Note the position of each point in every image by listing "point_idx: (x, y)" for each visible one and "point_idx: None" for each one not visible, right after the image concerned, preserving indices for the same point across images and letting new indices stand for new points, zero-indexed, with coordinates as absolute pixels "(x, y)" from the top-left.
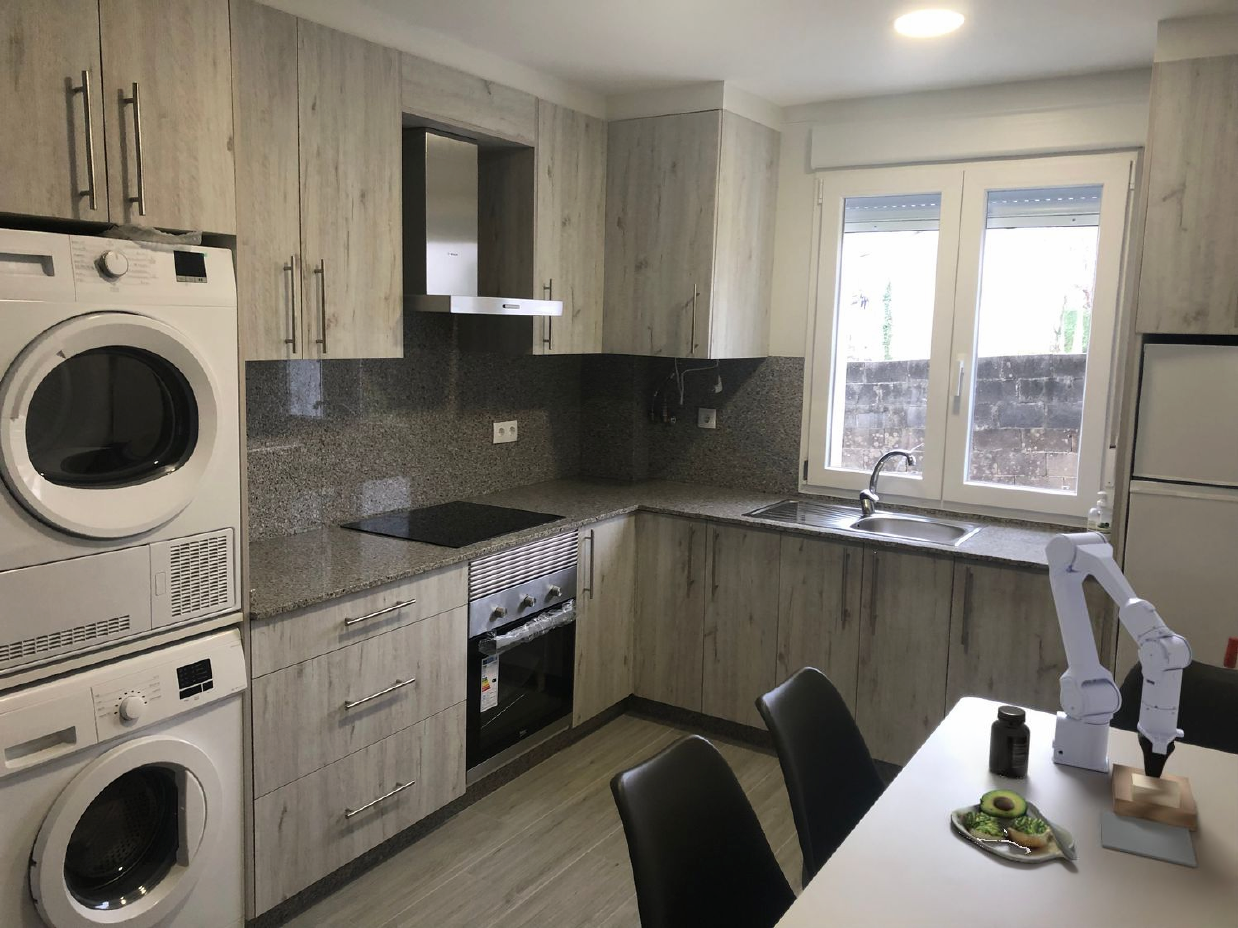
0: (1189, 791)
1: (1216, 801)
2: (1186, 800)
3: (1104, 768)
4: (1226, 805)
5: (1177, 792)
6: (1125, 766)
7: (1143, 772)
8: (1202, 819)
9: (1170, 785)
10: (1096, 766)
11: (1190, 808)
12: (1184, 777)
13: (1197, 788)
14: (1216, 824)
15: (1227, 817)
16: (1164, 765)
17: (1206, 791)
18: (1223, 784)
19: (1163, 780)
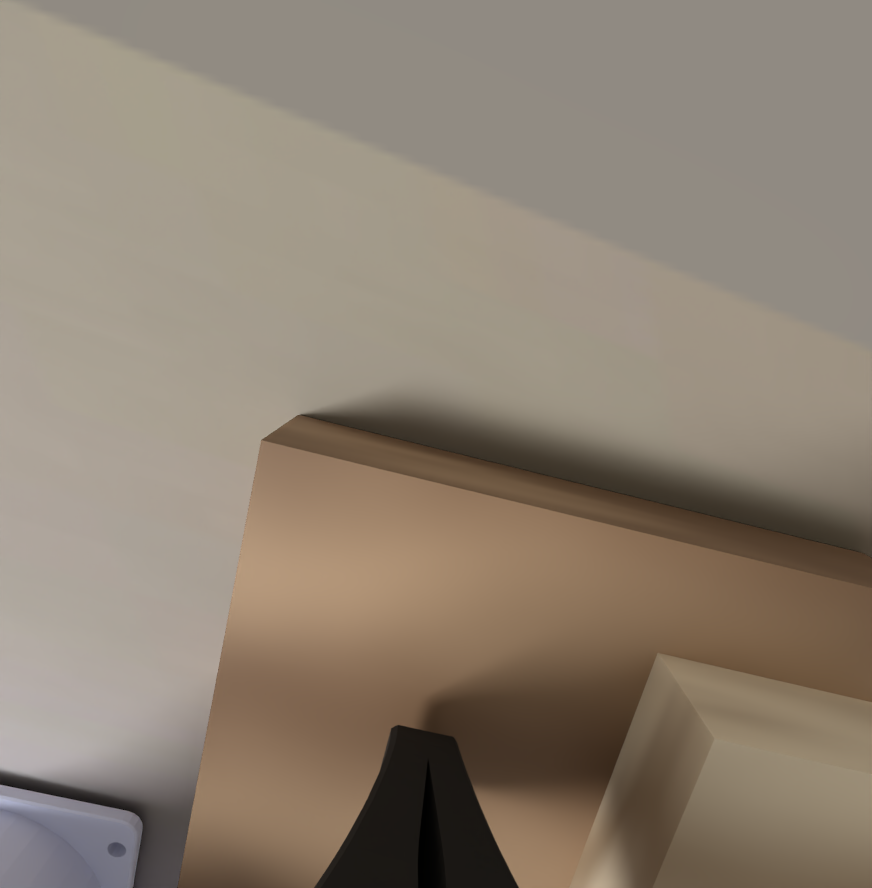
0: (556, 527)
1: (373, 236)
2: (732, 607)
3: (111, 838)
4: (424, 183)
5: None
6: (199, 848)
7: (272, 758)
8: (686, 447)
9: (798, 821)
10: (97, 873)
11: (865, 622)
12: (266, 470)
13: (179, 300)
14: (746, 380)
15: (626, 257)
16: (497, 848)
17: (212, 248)
18: (18, 44)
19: (696, 846)
